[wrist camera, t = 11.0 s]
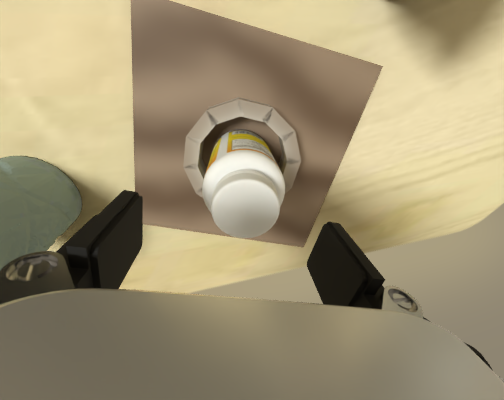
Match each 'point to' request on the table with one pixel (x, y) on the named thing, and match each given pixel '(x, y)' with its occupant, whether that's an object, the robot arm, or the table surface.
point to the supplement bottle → (243, 185)
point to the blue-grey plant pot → (33, 206)
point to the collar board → (226, 71)
